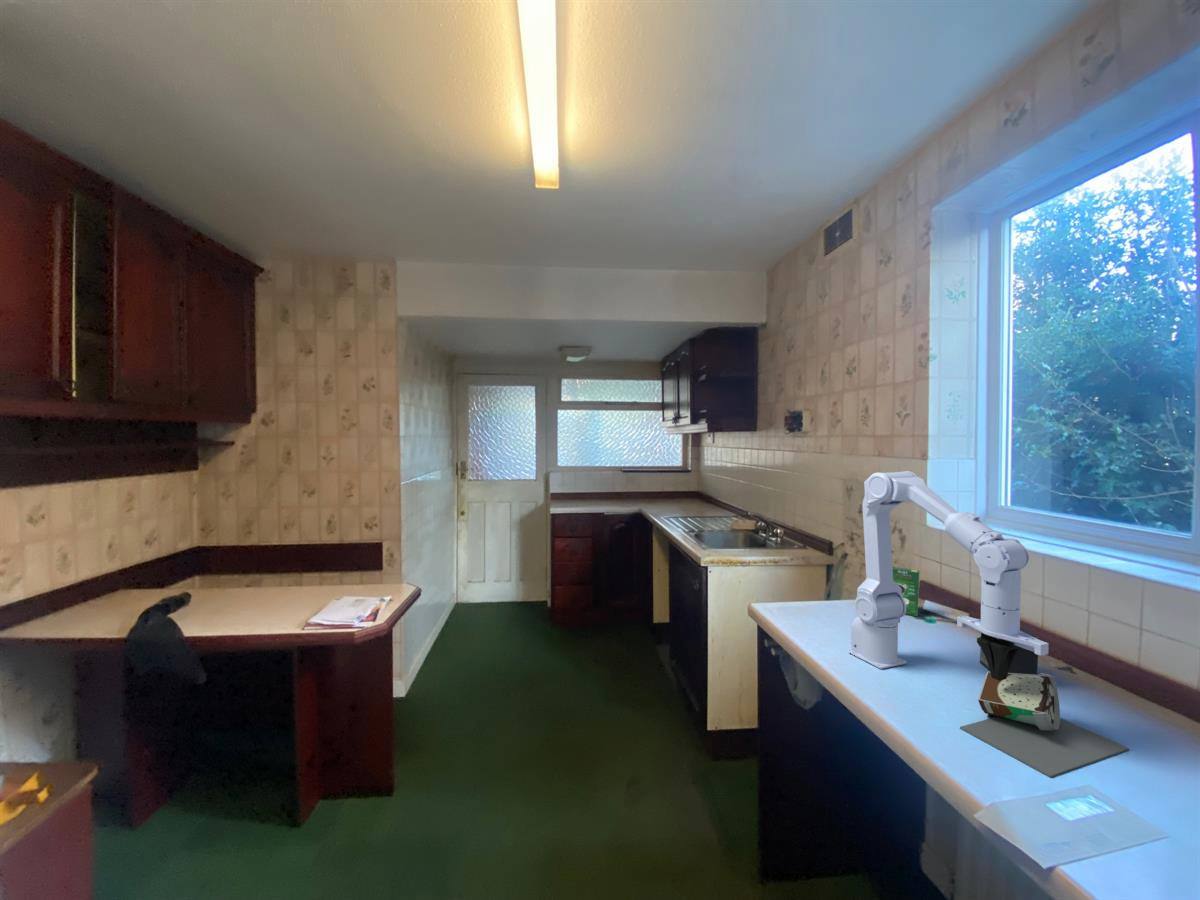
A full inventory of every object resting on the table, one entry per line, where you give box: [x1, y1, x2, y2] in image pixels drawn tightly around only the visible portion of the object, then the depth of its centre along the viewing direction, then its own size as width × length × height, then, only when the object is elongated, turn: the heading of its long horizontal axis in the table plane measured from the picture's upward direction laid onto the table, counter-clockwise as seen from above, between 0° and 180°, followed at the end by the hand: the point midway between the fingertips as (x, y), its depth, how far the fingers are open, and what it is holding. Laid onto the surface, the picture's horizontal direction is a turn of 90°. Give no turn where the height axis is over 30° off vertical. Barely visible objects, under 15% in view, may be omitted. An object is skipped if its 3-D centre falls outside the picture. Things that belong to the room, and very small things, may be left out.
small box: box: [979, 626, 1040, 675], centre depth 112 cm, size 11×6×10 cm, turn 168°
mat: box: [959, 716, 1130, 779], centre depth 89 cm, size 14×20×1 cm
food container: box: [977, 670, 1061, 731], centre depth 94 cm, size 12×6×10 cm
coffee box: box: [892, 566, 920, 617], centre depth 150 cm, size 8×3×13 cm, turn 56°
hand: (998, 678), depth 95 cm, fingers closed
